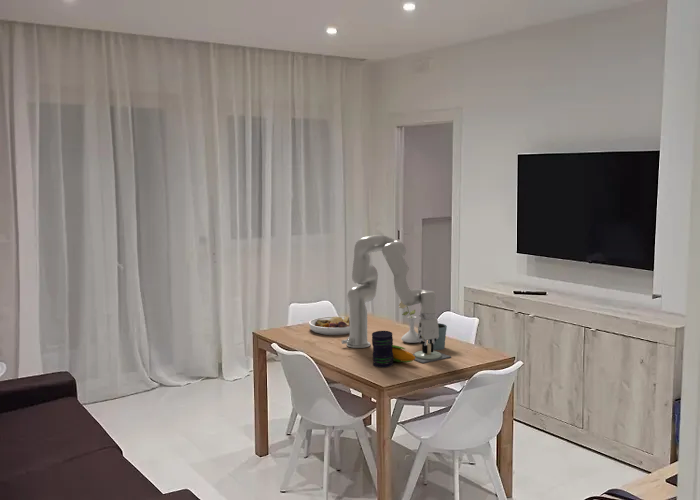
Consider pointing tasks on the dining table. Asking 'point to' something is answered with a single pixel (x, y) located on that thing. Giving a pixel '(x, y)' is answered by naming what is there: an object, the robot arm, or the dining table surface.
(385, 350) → the storage jar
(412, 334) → the flower in vase
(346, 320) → the bowl
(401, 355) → the corn
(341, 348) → the dining table surface
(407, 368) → the dining table surface
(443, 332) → the teal cup
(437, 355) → the lid
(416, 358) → the mat
